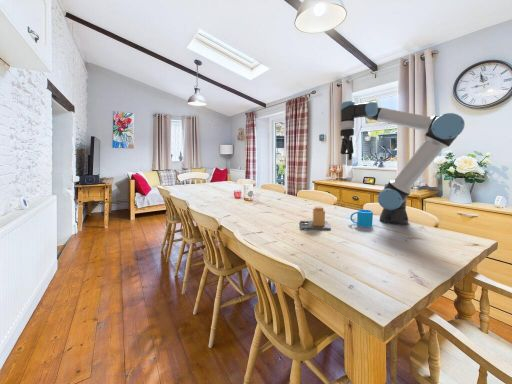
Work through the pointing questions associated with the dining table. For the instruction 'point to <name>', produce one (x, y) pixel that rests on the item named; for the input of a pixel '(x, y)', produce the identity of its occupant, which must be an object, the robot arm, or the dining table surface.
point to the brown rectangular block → (318, 216)
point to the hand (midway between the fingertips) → (346, 165)
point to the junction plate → (309, 226)
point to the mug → (363, 218)
